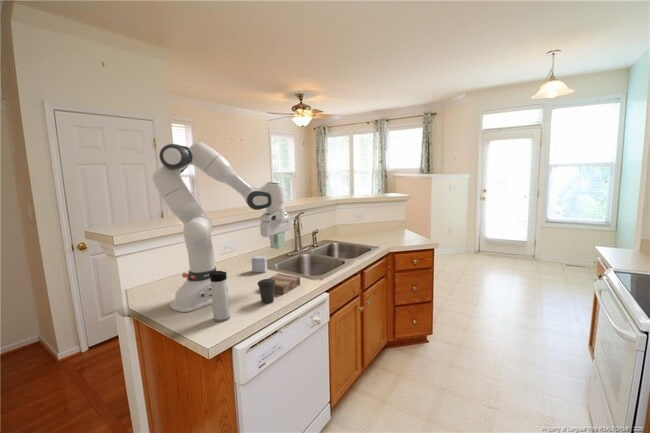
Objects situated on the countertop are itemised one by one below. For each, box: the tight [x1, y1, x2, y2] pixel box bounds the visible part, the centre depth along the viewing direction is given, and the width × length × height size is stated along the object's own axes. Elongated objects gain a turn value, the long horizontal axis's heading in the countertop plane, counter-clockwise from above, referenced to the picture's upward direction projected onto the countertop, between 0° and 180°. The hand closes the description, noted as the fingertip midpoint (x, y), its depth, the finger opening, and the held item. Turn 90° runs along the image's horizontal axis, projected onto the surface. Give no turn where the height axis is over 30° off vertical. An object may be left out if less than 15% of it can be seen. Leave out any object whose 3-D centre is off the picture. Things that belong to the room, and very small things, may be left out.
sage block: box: [269, 233, 286, 250], centre depth 150 cm, size 5×5×7 cm
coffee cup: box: [257, 278, 276, 305], centre depth 135 cm, size 8×8×10 cm
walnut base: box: [267, 273, 301, 296], centre depth 152 cm, size 14×14×4 cm
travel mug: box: [209, 270, 231, 323], centre depth 120 cm, size 6×7×20 cm
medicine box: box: [251, 256, 268, 273], centre depth 177 cm, size 8×4×9 cm, turn 84°
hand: (277, 242), depth 151 cm, fingers closed on sage block, 5 cm apart
